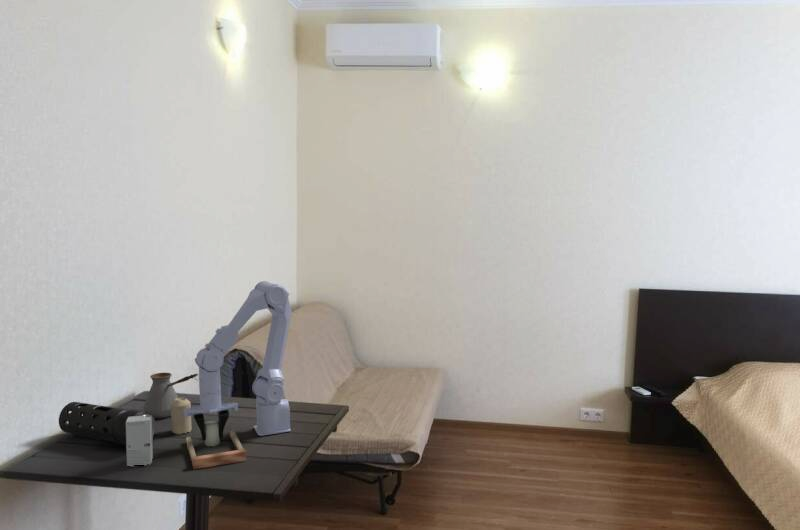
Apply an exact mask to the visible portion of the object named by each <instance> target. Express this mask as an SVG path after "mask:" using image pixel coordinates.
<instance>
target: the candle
mask: <svg viewBox="0 0 800 530" xmlns="http://www.w3.org/2000/svg"><path fill="white" fill-rule="evenodd" d="M191 406H192V404H191V401H190V400H188V399H187V398H186V397H185V396H184V397H178V399H177V398H176V399H175V400H174V401H173V402H172V403H171V416H170V418H171V431H172V432H173V433H176V434H175V435H183V434H182V433H186V434H188V433H187V432H189V433H191V432H192V429H193V428H192V416H188V417H186V418H184V409H187V408H192V407H191ZM172 432H171V433H172ZM173 433H172V434H173Z"/></svg>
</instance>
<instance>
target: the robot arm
mask: <svg viewBox="0 0 800 530" xmlns="http://www.w3.org/2000/svg"><path fill="white" fill-rule="evenodd" d="M289 295H290V294H289V292H288V290H287V289H286V288H285V287H284V285H282V284H278V283H277V284H276V283H273V282H269V281H265V280H263V281H259V282H258V283H257V284H256V285H255V286H254V287H253V289H252V290H250V292H249V294H248V296H247V298H246V299H245V301H244V302H243V303H242V305H241V307H240V308H239V309H238V311H237V312H236V314H235V315H234V316H233V318H232V319H231V320H230V322H229V324H227V325H223V326H220V328H217V329H216V330H215V335H214V336H213V337H212V338H211V340H210V341H209V342H207V343H205V345H204V348H201V349H200V350H199V351H198V352H197V354H196V357H195V358H194V362H195V364H196V365H197V366H198V383H199V384H198V386H199V387H198V388H199V404H200V405H197V406H192V407H191V408H187V409H184V418H186V417H188V416H191V417H193V419H194V420H195V422H196V424H197V426H198V428H199V430H200V433H201V440H202V441H203V442H205V430H204V423H205V417H204V415H207V414H208V415H210V414H217V415H218V416H217V417H218V422H219V436H220V439H222V438H223V435H224V430H225V426H226V424H227V421H228V420H229V418H230V413H229V412H231V411H233V412H238V411H239V404H238V402H236V401H235V402H222V390H221V389H222V386H221V367H222V366H224V365H223V364H224V357H225V356H226V355H228V352H229V351H230V350H231V349H232V347H233V346H234V345H235V344H236V342H237V341H238V339H239V332H240V331H241V329H242V328H243V327H244V326H245V325H246V324H247V323H248V321H249V320H250V319H251V318H252V317H253V316H254V315H255V314H256V312H258V311H262V310H266V309H267V310H268V311H269V312H270V314H272V317H271V322H270V327H269V333H268V337H267V343H266V348H265V352H264V360H263V365H262V367H261V368H260V369H259V370H258V371H257V376H256V378H255V379H254V381H253V383H252V386H251V387H252V392H253V394H254V395H256V399H255V400H256V401H255V403H256V404H255V405H256V425H253V428H254V430H255V433H256V434H257V435H258V437H259V436H260V437H261V436H262V437H263V436H269V435H274V434H282V433H288V432H291V417H290V416H291V411H290V404H289V403H290V402H289V401H288V399H287V398H284V396H285V391H286V390H285V387H284V382H285V381H284V380H285V378H284V375H283V372H282V367H283V362H284V361H283V360H284V355H285V350H286V345H287V341H288V335H289V330H290V329H289V328H290V325H291V319H292V315H293V314H292V313H293V312H292V305H291V303H290V300H289V297H290V296H289Z"/></svg>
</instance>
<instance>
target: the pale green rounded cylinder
mask: <svg viewBox="0 0 800 530" xmlns="http://www.w3.org/2000/svg"><path fill="white" fill-rule="evenodd" d="M204 430H205V441H204V446H205V445H206V447H209V446H212V447H216V446H215V445H217V446H219V445H220V443H221V441H220V439H221V438H220V436H219V420H218V421H217V420H210V421H206V422H204ZM218 444H219V445H218Z"/></svg>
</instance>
